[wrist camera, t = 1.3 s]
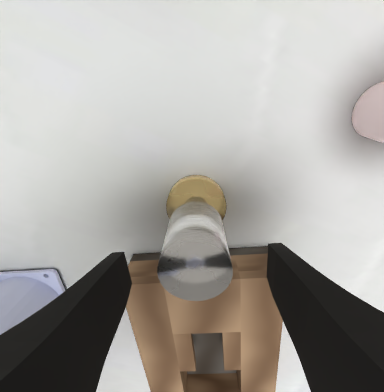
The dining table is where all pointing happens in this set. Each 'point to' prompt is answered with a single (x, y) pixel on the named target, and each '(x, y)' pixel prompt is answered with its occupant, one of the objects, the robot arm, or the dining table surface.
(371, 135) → the smoothie
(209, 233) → the peg
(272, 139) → the dining table surface
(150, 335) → the keyhole board
